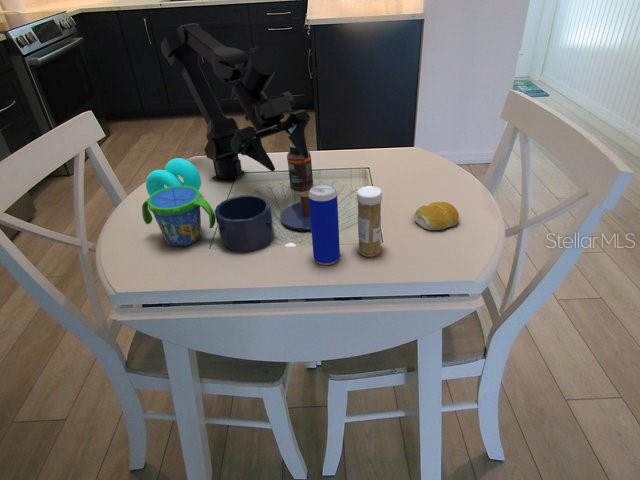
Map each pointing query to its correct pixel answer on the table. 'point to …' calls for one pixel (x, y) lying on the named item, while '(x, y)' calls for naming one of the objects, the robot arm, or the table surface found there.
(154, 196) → the snack cup
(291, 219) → the lid
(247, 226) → the navy blue pot
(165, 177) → the donuts
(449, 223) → the bread roll
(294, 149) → the supplement bottle
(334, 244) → the beverage can
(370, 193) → the spice jar
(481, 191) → the table surface
